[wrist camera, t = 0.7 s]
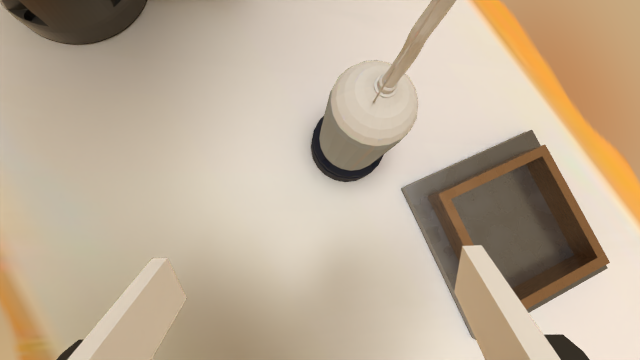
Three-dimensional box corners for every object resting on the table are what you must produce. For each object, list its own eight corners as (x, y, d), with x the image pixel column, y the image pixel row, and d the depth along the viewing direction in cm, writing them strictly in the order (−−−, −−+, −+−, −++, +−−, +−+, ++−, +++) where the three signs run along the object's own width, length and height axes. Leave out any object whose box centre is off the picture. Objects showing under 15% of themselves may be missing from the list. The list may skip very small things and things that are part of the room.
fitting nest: (401, 188, 32) (413, 184, 29) (525, 132, 34) (550, 122, 31) (472, 337, 30) (494, 352, 27) (598, 266, 33) (633, 272, 29)
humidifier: (392, 141, 33) (680, -102, 8) (353, 195, 31) (559, 100, 7) (338, 101, 33) (459, -254, 8) (296, 153, 32) (297, -89, 7)
